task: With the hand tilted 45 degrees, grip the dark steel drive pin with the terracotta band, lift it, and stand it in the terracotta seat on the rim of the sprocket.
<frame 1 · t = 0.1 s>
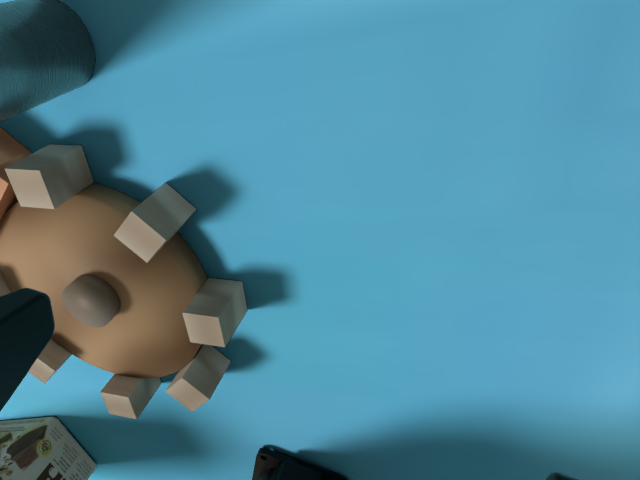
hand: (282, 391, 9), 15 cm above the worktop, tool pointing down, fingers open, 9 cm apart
sprocket: (112, 280, 31), on the worktop
drive pin: (55, 44, 23), on the worktop
coffee box: (43, 440, 44), on the worktop
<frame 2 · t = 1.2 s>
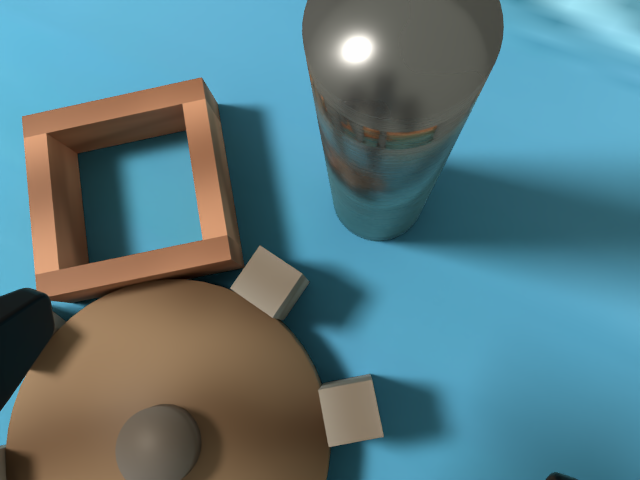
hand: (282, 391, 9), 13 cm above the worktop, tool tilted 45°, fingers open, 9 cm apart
sprocket: (177, 436, 22), on the worktop
drive pin: (377, 196, 23), on the worktop
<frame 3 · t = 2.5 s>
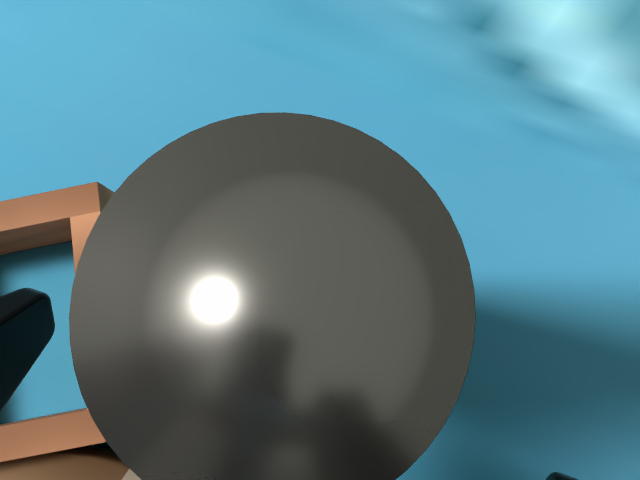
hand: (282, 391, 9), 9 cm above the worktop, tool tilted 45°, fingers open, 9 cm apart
drive pin: (330, 332, 18), on the worktop
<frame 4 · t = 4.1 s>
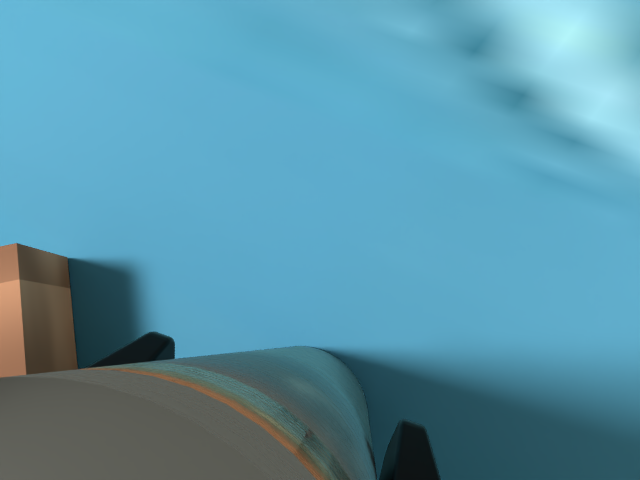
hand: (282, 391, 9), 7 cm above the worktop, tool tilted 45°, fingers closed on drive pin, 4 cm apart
drive pin: (299, 416, 15), on the worktop, touching gripper
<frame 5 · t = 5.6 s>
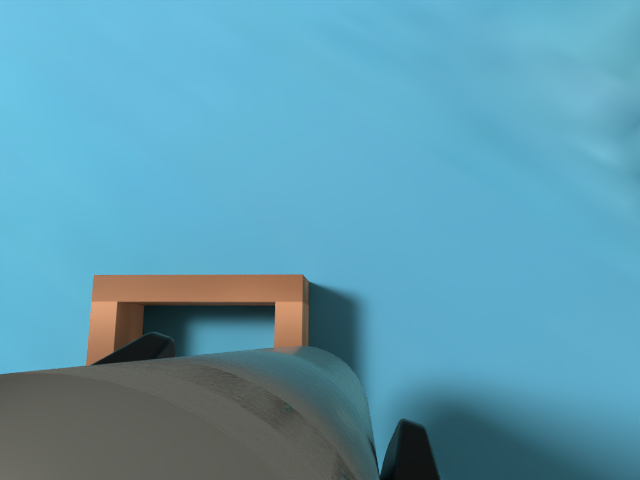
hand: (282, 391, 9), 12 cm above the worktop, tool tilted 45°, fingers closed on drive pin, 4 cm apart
drive pin: (300, 415, 15), point 6 cm above the worktop, touching gripper
when the fingers open (8 cm above the worktop, at t = 7.3 s): drive pin drops 1 cm, resting in sprocket.
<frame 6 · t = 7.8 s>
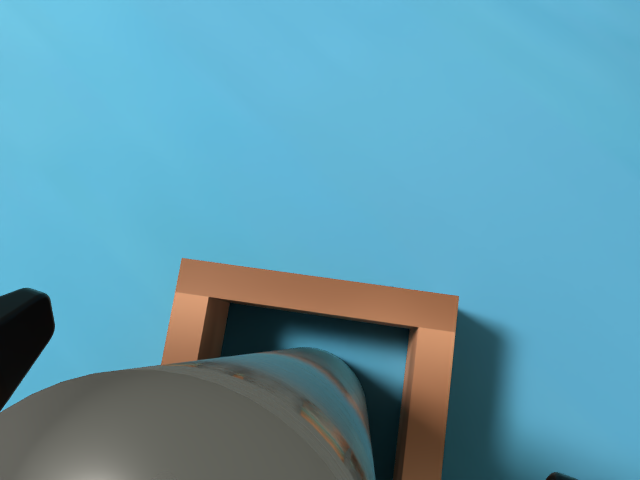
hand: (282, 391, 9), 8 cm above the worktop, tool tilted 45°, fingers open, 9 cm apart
drive pin: (304, 411, 17), resting in sprocket
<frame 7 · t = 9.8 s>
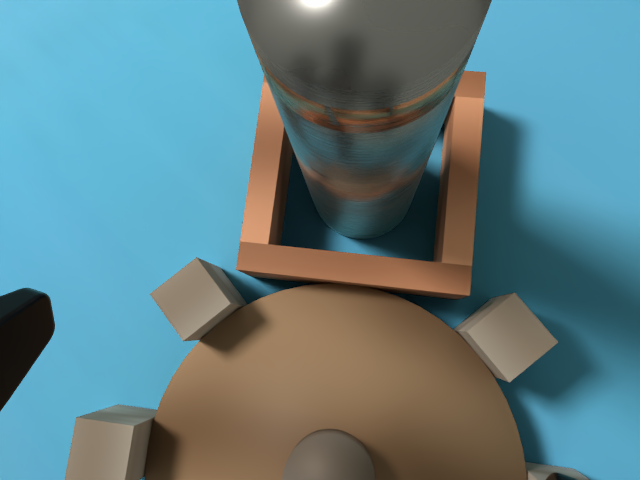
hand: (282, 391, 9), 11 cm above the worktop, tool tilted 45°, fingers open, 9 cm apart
sprocket: (332, 463, 19), on the worktop
drive pin: (362, 189, 21), resting in sprocket
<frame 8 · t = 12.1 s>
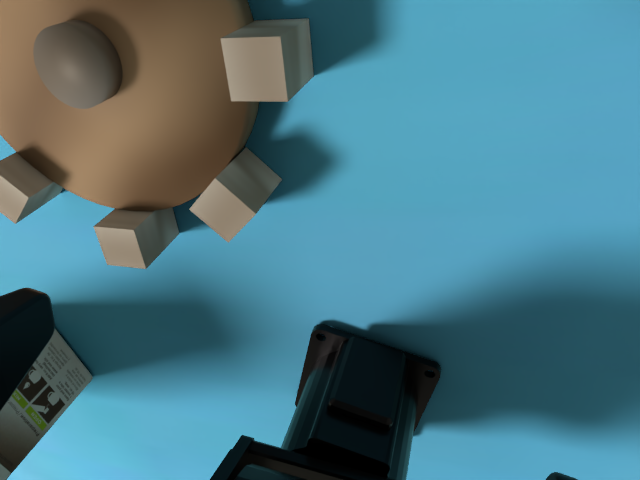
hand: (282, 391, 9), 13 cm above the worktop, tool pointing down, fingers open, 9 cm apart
sprocket: (110, 52, 21), on the worktop
coffee box: (24, 347, 35), on the worktop
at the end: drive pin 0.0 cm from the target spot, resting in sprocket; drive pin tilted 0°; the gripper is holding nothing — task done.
